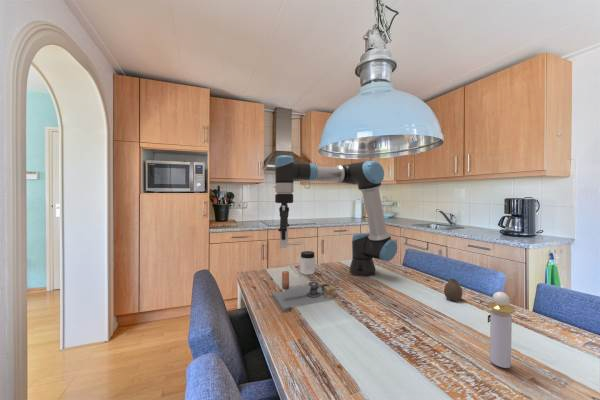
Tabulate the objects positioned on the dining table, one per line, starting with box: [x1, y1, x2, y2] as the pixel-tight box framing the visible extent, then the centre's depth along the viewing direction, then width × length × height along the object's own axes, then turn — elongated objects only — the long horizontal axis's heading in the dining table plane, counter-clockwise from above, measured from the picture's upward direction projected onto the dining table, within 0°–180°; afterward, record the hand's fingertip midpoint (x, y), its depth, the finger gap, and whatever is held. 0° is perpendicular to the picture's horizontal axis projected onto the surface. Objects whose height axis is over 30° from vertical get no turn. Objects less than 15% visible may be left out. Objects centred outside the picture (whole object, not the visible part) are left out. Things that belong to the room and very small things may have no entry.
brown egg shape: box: [443, 278, 463, 302], centre depth 114 cm, size 7×7×9 cm
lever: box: [281, 270, 330, 293], centre depth 115 cm, size 22×4×11 cm, turn 111°
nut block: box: [324, 285, 337, 299], centre depth 115 cm, size 4×4×4 cm
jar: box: [299, 250, 316, 276], centre depth 154 cm, size 9×8×12 cm
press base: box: [272, 288, 340, 313], centre depth 116 cm, size 25×17×4 cm
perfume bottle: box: [487, 291, 516, 369], centre depth 70 cm, size 6×6×20 cm
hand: (284, 244), depth 108 cm, fingers open, 13 cm apart
